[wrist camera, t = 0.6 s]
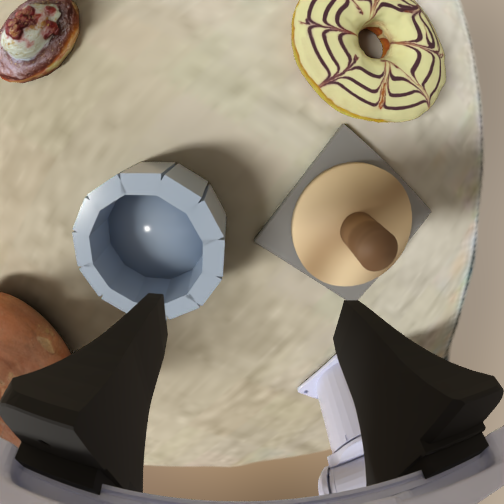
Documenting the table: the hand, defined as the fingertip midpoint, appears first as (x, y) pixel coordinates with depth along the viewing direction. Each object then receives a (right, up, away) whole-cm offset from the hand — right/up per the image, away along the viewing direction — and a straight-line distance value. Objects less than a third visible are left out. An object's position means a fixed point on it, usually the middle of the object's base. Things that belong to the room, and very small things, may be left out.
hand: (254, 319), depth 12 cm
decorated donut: (+7, +16, +4) cm, 18 cm away
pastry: (-16, +19, +2) cm, 24 cm away
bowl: (-7, +4, +9) cm, 12 cm away
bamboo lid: (+7, +5, +9) cm, 12 cm away
